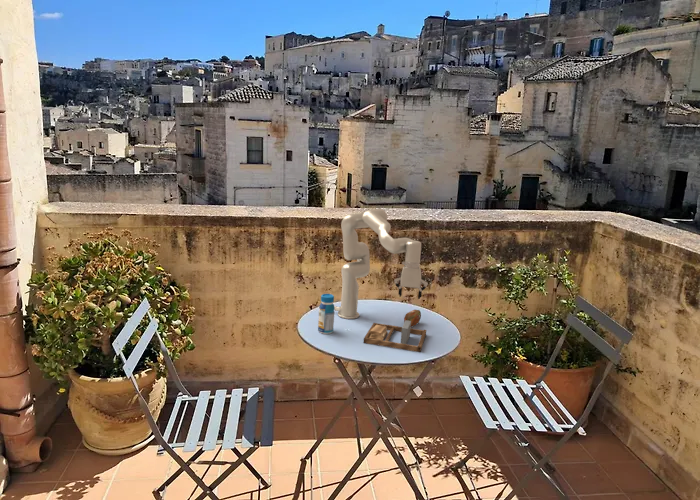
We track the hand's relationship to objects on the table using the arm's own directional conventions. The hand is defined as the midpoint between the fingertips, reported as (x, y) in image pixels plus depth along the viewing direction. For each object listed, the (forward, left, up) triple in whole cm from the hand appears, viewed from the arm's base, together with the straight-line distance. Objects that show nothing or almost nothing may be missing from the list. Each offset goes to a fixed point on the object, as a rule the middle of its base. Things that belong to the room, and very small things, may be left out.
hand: (409, 297), depth 278 cm
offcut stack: (-14, -1, -24) cm, 28 cm away
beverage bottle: (-42, -6, -24) cm, 49 cm away
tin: (0, +23, -24) cm, 33 cm away
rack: (-5, -1, -23) cm, 24 cm away
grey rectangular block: (0, -1, -24) cm, 24 cm away
